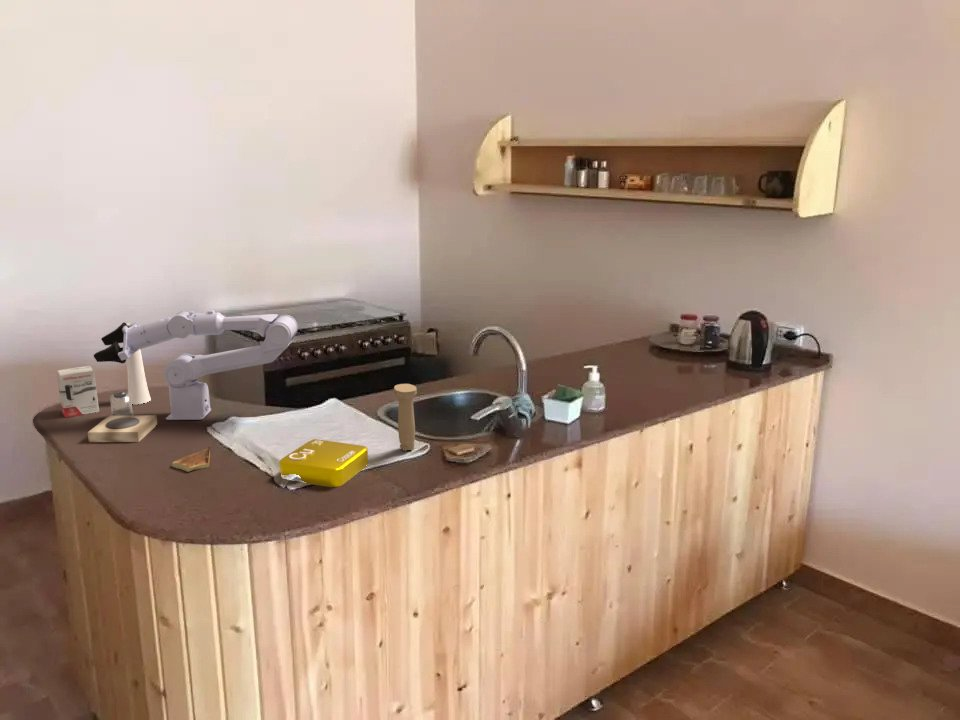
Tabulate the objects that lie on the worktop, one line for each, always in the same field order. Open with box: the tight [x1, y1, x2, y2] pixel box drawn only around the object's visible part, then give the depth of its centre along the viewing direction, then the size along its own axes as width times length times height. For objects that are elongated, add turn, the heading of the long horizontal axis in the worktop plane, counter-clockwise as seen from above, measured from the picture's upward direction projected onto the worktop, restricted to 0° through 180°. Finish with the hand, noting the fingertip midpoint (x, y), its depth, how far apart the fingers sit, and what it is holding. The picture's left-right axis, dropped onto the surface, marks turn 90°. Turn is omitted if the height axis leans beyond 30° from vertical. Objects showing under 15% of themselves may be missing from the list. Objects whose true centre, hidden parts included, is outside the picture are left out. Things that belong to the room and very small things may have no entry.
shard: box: [171, 446, 211, 473], centre depth 188 cm, size 11×8×2 cm
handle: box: [393, 383, 418, 451], centre depth 193 cm, size 5×6×15 cm
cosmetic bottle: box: [125, 322, 152, 406], centre depth 228 cm, size 6×6×22 cm
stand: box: [87, 414, 158, 443], centre depth 206 cm, size 12×12×3 cm
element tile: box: [278, 438, 369, 488], centre depth 183 cm, size 15×15×5 cm
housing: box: [109, 390, 134, 416], centre depth 217 cm, size 5×5×7 cm
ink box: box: [56, 365, 100, 418], centre depth 220 cm, size 8×5×12 cm, turn 123°
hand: (99, 349), depth 214 cm, fingers open, 7 cm apart
